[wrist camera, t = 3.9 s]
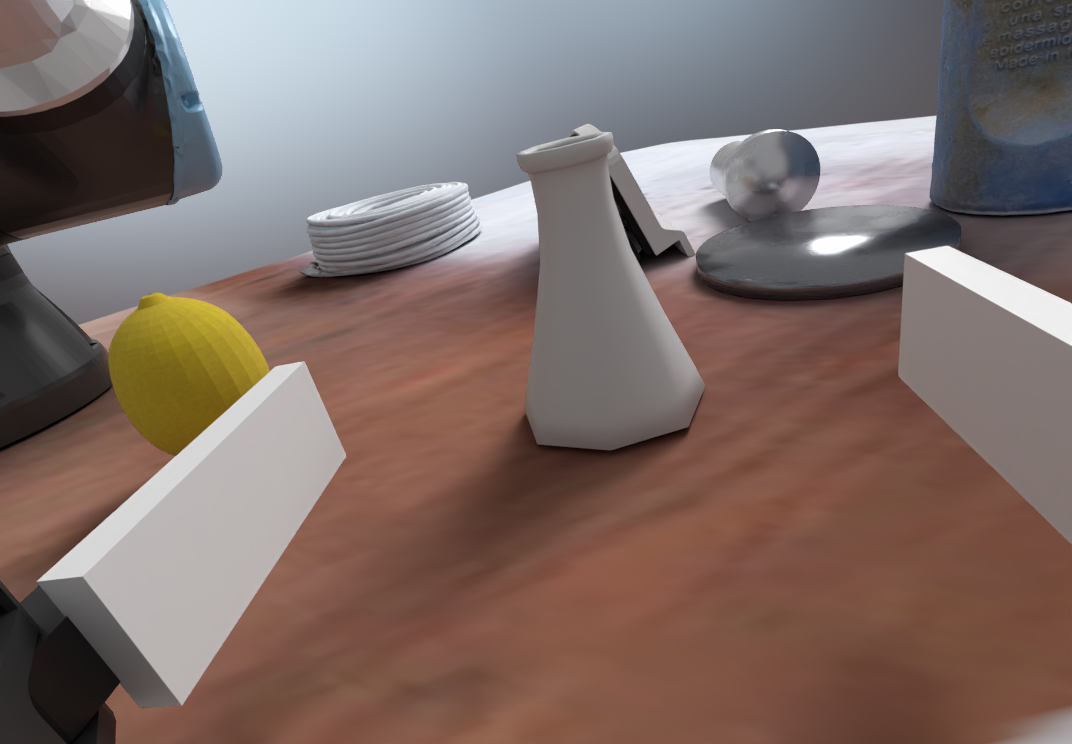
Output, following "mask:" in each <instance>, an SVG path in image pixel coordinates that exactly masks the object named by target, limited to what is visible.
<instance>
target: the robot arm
mask: <svg viewBox="0 0 1072 744" xmlns="http://www.w3.org/2000/svg"><path fill="white" fill-rule="evenodd" d="M221 176H222V163H221V159H220V156H219V152H218V149H217V146H216V143H215V139H214V137H213V134H212V131H211V128H210V125H209V122H208V119H207V116H206V113H205V110H204V108H203V105H202V102H201V101H200V98H199V93H198V91H197V88H196V85H195V83H194V78H193V75H192V72H191V70H190V67H189V64H188V61H187V58H186V55H185V53H184V50H183V47H182V44H181V42H180V39H179V36H178V34H177V31H176V28H175V25H174V23H173V20H172V18H171V15H170V13H169V10H168V8H167V6H166V3H165V2H164V0H0V447H3V446H5V445H7V444H10V443H12V442H14V441H16V440H18V439H21V438H23V437H25V436H27V435H29V434H31V433H33V432H35V431H38V430H40V429H42V428H44V427H46V426H48V425H49V424H51V423H53V422H55V421H57V420H59V419H61V418H63V417H65V416H66V415H68V414H70V413H72V412H74V411H75V410H77V409H79V408H80V407H82V406H84V405H85V404H87V403H88V402H90V401H91V400H93V399H95V398H96V397H97V396H99V395H100V394H102V393H103V392H104V391H106V390H107V389H108V388H109V387H110V386H111V385H112V381H111V377H110V372H109V364H108V356H109V353H108V352H107V350H106V349H105V347H104V346H103V345H102V344H101V343H100V342H98V341H97V340H94V339H91V338H90V337H89V336H88V335H87V334H86V333H85V332H84V331H83V330H82V329H81V328H80V327H79V326H78V325H77V324H76V323H75V322H74V321H73V320H72V319H71V318H69V317H68V316H67V315H66V314H65V313H64V312H63V311H62V310H60V309H59V308H58V307H57V306H56V305H55V304H53V303H52V302H51V301H50V300H49V299H48V298H47V297H45V296H44V295H43V294H42V293H41V292H40V291H38V290H37V289H36V288H35V287H34V286H33V285H32V283H31V282H30V281H29V279H28V278H27V277H26V275H25V274H24V272H23V270H22V269H21V267H20V266H19V264H18V263H17V261H16V260H15V258H14V256H13V255H12V253H11V251H10V249H9V247H8V245H7V244H8V243H12V242H16V241H20V240H24V239H28V238H31V237H35V236H39V235H43V234H47V233H51V232H55V231H59V230H63V229H67V228H72V227H76V226H80V225H84V224H88V223H92V222H97V221H101V220H105V219H109V218H113V217H117V216H121V215H125V214H130V213H134V212H137V211H142V210H146V209H150V208H154V207H158V206H163V205H172V204H175V203H176V202H178V201H179V199H182V198H185V197H187V196H191V195H194V194H197V193H201V192H204V191H207V190H210V189H211V188H213V187H214V186H216V185H217V183H218V182H219V180H220V178H221ZM898 376H899V377H900V378H901V379H902V380H903V381H904V382H905V383H906V384H907V385H908V386H909V387H910V388H911V389H912V390H913V391H914V392H915V393H916V394H917V395H918V396H919V397H920V398H921V399H922V400H923V401H924V402H925V403H926V404H927V405H928V406H929V407H930V408H931V409H933V410H934V411H935V412H936V413H937V414H938V415H939V416H940V417H941V418H942V419H943V420H944V421H945V422H946V423H947V424H948V425H949V426H950V427H951V428H952V429H953V430H954V431H955V432H956V433H957V434H958V435H959V436H960V437H961V438H962V439H963V440H964V441H965V442H967V443H968V444H969V445H970V446H971V447H972V448H973V449H974V450H975V451H976V452H977V453H978V454H979V455H980V456H981V457H982V458H983V459H984V460H985V461H986V462H987V463H988V464H989V465H990V466H991V467H992V468H993V469H994V470H995V471H996V472H997V473H998V474H999V475H1001V476H1002V477H1003V478H1004V479H1005V480H1006V481H1007V482H1008V483H1009V484H1010V485H1011V486H1012V487H1013V488H1014V489H1015V490H1016V491H1017V492H1018V493H1019V494H1020V495H1021V496H1022V497H1023V498H1024V499H1025V500H1026V501H1027V502H1028V503H1029V504H1030V505H1031V506H1032V507H1033V508H1035V509H1036V510H1037V511H1038V512H1039V513H1040V514H1041V515H1042V516H1043V517H1044V518H1045V519H1046V520H1047V521H1048V522H1049V523H1050V524H1051V525H1052V526H1053V527H1054V528H1055V529H1056V530H1057V531H1058V532H1059V533H1060V534H1061V535H1062V536H1063V537H1064V538H1065V539H1066V540H1068V541H1069V542H1070V543H1071V544H1072V303H1070V302H1068V301H1065V300H1063V299H1061V298H1059V297H1057V296H1055V295H1053V294H1050V293H1048V292H1046V291H1044V290H1042V289H1040V288H1038V287H1035V286H1033V285H1031V284H1029V283H1027V282H1025V281H1023V280H1020V279H1018V278H1016V277H1014V276H1012V275H1010V274H1008V273H1005V272H1003V271H1001V270H999V269H997V268H995V267H993V266H990V265H988V264H986V263H984V262H982V261H980V260H978V259H975V258H973V257H971V256H969V255H967V254H965V253H962V252H960V251H958V250H956V249H954V248H952V247H950V246H943V247H937V248H932V249H926V250H920V251H915V252H909V253H905V259H904V277H903V295H902V313H901V332H900V350H899V368H898ZM345 457H346V454H345V452H344V449H343V447H342V445H341V443H340V440H339V438H338V436H337V434H336V431H335V429H334V427H333V425H332V422H331V420H330V418H329V416H328V413H327V411H326V409H325V407H324V404H323V402H322V400H321V398H320V395H319V393H318V391H317V389H316V386H315V384H314V382H313V380H312V377H311V375H310V373H309V371H308V368H307V366H306V364H305V362H304V361H303V362H298V363H292V364H287V365H281V366H276V367H275V368H273V369H272V370H271V371H270V372H269V373H268V374H267V375H266V376H265V377H263V378H262V379H261V380H260V381H259V382H258V383H257V384H256V385H255V386H253V387H252V388H251V389H250V390H249V391H248V392H247V393H246V394H245V395H243V396H242V397H241V398H240V399H239V400H238V401H237V402H236V403H234V404H233V405H232V406H231V407H230V408H229V409H228V410H227V411H226V412H224V413H223V414H222V415H221V416H220V417H219V418H218V419H217V420H216V421H214V422H213V423H212V424H211V425H210V426H209V427H208V428H207V429H206V430H204V431H203V432H202V433H201V434H200V435H199V436H198V437H197V438H196V439H194V440H193V441H192V442H191V443H190V444H189V445H188V446H187V447H186V448H184V449H183V450H182V451H181V452H180V453H179V454H178V455H177V456H176V457H174V458H173V459H172V460H171V461H170V462H169V463H168V464H167V465H166V466H164V467H163V468H162V469H161V470H160V471H159V472H158V473H157V474H155V475H154V476H153V477H152V478H151V479H150V480H149V481H148V482H147V483H145V484H144V485H143V486H142V487H141V488H140V489H139V490H138V491H137V492H135V493H134V494H133V495H132V496H131V497H130V498H129V499H128V500H127V501H125V502H124V503H123V504H122V505H121V506H120V507H119V508H118V509H117V510H115V511H114V512H113V513H112V514H111V515H110V516H109V517H108V518H107V519H105V520H104V521H103V522H102V523H101V524H100V525H99V526H98V527H97V528H95V529H94V530H93V531H92V532H91V533H90V534H89V535H88V536H87V537H85V538H84V539H83V540H82V541H81V542H80V543H79V544H78V545H77V546H75V547H74V548H73V549H72V550H71V551H70V552H69V553H68V554H66V555H65V556H64V557H63V558H62V559H61V560H60V561H59V562H58V563H56V564H55V565H54V566H53V567H52V568H51V569H50V570H49V571H48V572H46V573H45V574H44V575H43V576H42V577H41V578H40V579H39V580H38V581H36V582H37V583H38V584H39V586H38V587H37V588H36V589H35V590H34V591H33V592H32V593H31V594H29V595H28V596H27V597H26V598H25V599H24V600H23V601H22V602H21V603H19V602H18V601H17V600H16V599H15V597H14V596H13V595H12V594H11V593H10V592H9V590H8V589H7V588H6V587H5V586H4V585H3V583H2V582H1V581H0V744H115V735H116V720H115V717H114V714H113V712H112V710H111V709H110V708H109V707H108V706H107V705H106V703H105V701H106V700H107V698H108V697H109V696H110V695H111V693H112V692H113V691H114V690H115V688H116V687H117V686H118V684H119V683H120V684H121V685H122V687H123V688H124V689H125V690H126V692H127V693H128V694H129V695H130V696H131V698H132V699H133V700H134V701H135V702H136V704H137V705H138V706H139V707H140V708H150V707H166V706H182V705H183V703H184V702H185V700H186V699H187V697H188V696H189V694H190V693H191V691H192V690H193V688H194V687H195V685H196V684H197V682H198V681H199V679H200V677H201V676H202V674H203V673H204V671H205V670H206V668H207V667H208V665H209V664H210V662H211V661H212V659H213V658H214V656H215V655H216V653H217V652H218V650H219V649H220V647H221V646H222V644H223V643H224V641H225V640H226V638H227V637H228V635H229V633H230V632H231V630H232V629H233V627H234V626H235V624H236V623H237V621H238V620H239V618H240V617H241V615H242V614H243V612H244V611H245V609H246V608H247V606H248V605H249V603H250V602H251V600H252V599H253V597H254V596H255V594H256V592H257V591H258V589H259V588H260V586H261V585H262V583H263V582H264V580H265V579H266V577H267V576H268V574H269V573H270V571H271V570H272V568H273V567H274V565H275V564H276V562H277V561H278V559H279V558H280V556H281V555H282V553H283V551H284V550H285V548H286V547H287V545H288V544H289V542H290V541H291V539H292V538H293V536H294V535H295V533H296V532H297V530H298V529H299V527H300V526H301V524H302V523H303V521H304V520H305V518H306V517H307V515H308V514H309V512H310V511H311V509H312V507H313V506H314V504H315V503H316V501H317V500H318V498H319V497H320V495H321V494H322V492H323V491H324V489H325V488H326V486H327V485H328V483H329V482H330V480H331V479H332V477H333V476H334V474H335V473H336V471H337V470H338V468H339V466H340V465H341V463H342V462H343V460H344V459H345Z"/></svg>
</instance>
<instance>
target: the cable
mask: <svg viewBox="0 0 1072 744" xmlns="http://www.w3.org/2000/svg"><path fill="white" fill-rule="evenodd" d="M468 194H469V192H468V185H467V184H465V183H459V182H450V183H440V184H429V185H424V186H418V187H414V188H409V189H404V190H400V191H396V192H392V193H387V194H383V195H380V196H375V197H372V198H368V199H365V200H361V201H358V202H355V203H351V204H348V205H344V206H341V207H337V208H333V209H330V210H327V211H323V212H320V213H317V214H315V215H312V216H310V217H309V218H307V223H308V224H310V225H309V226H308V227H307V232H308V233H309V237H310V239H311V243H312V249H313V255H314V256H315V257H316V261H314V262H310V266H309V267H308V268H300V269H299V272H300V273H302V274H305V275H308V276H311V277H330V276H345V275H355V274H365V273H372V272H379V271H385V270H391V269H396V268H400V267H405V266H409V265H413V264H417V263H420V262H424V261H427V260H430V259H433V258H436V257H438V256H440V255H443V254H445V253H447V252H449V251H451V250H453V249H455V248H457V247H458V246H460V245H461V244H463V243H464V242H466V241H468V240H469V239H471V238H473V237H474V236H475V235H476V234H478V233H479V232H480V231H481V229H482V223H481V222H480V218H479V216H478V215H477V212H476V211H475V208H474V207H473V204H472V201H470V200H471V198H470V196H469V195H468ZM316 266H319V267H320V268H321V270H317V267H316Z"/></svg>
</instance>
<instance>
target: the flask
mask: <svg viewBox="0 0 1072 744" xmlns="http://www.w3.org/2000/svg"><path fill="white" fill-rule="evenodd" d="M612 149H613V136H612V132H594V133H589V134H584V135H579V136H574V137H569V138H565V139H561V140H557V141H554V142H549V143H546V144H542V145H538V146H534V147H532V148H529V149H527V150H524V151H522V152H520V153H518V154H517V161H518V163H519V166H520V168H521V169H522V170H523V171H524V172H527V173H528V175H529V177H530V180H531V184H532V189H533V194H534V198H535V203H536V208H537V213H538V231H539V251H540V272H539V283H538V294H537V304H536V315H535V326H534V335H533V343H532V351H531V358H530V366H529V373H528V381H527V388H526V398H525V408H524V410H525V412H526V415H527V418H528V420H529V423H530V426H531V429H532V431H533V434H534V437H535V440H536V442H537V444H539V445H551V446H563V447H575V448H587V449H599V450H614V449H617V448H620V447H624V446H627V445H630V444H633V443H637V442H640V441H643V440H647V439H650V438H653V437H657V436H660V435H663V434H667V433H670V432H673V431H677V430H680V429H683V428H686V427H689V425H690V422H691V420H692V417H693V415H694V412H695V410H696V407H697V405H698V403H699V400H700V398H701V395H702V393H703V390H704V388H705V384H704V383H703V381H702V379H701V377H700V375H699V373H698V371H697V369H696V367H695V365H694V364H693V362H692V360H691V358H690V357H689V355H688V353H687V351H686V350H685V348H684V346H683V344H682V343H681V341H680V339H679V337H678V336H677V334H676V332H675V330H674V329H673V327H672V325H671V323H670V322H669V320H668V318H667V316H666V315H665V313H664V311H663V309H662V307H661V305H660V303H659V301H658V299H657V297H656V295H655V294H654V292H653V290H652V288H651V286H650V284H649V282H648V280H647V278H646V276H645V274H644V272H643V270H642V269H641V267H640V265H639V263H638V261H637V259H636V257H635V255H634V253H633V251H632V249H631V247H630V244H629V241H628V238H627V235H626V233H625V230H624V227H623V224H622V221H621V218H620V215H619V212H618V209H617V206H616V203H615V201H614V197H613V192H612V186H611V180H610V175H609V169H608V156H607V154H608V153H610V152H611V151H612Z"/></svg>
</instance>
